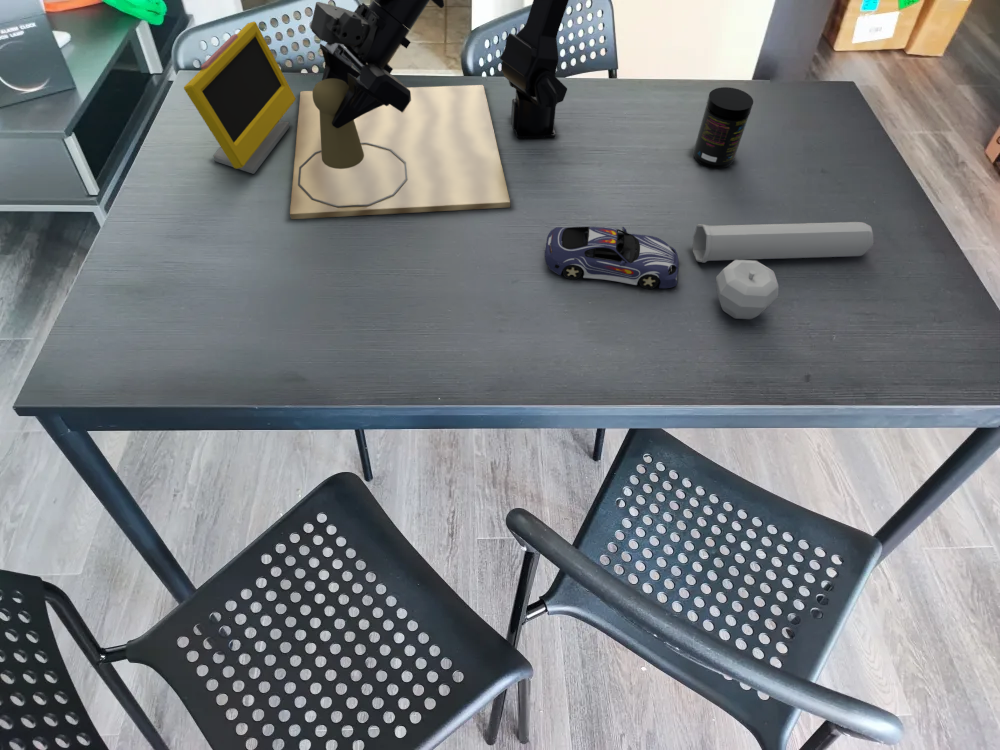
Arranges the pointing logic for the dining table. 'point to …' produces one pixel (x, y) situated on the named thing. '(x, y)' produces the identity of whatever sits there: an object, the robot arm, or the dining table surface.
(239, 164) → the toy computer monitor
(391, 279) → the dining table surface
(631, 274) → the toy car
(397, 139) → the sketch board
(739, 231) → the tube
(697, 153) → the supplement container
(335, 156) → the pepper shaker
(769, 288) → the apple
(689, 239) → the dining table surface
